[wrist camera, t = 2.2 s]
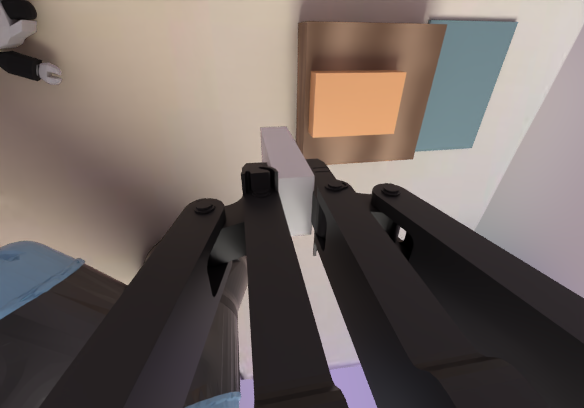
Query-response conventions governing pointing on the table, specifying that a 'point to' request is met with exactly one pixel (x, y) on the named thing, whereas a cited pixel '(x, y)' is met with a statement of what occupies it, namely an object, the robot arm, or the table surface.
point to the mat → (463, 82)
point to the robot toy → (12, 32)
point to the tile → (354, 102)
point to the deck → (368, 56)
